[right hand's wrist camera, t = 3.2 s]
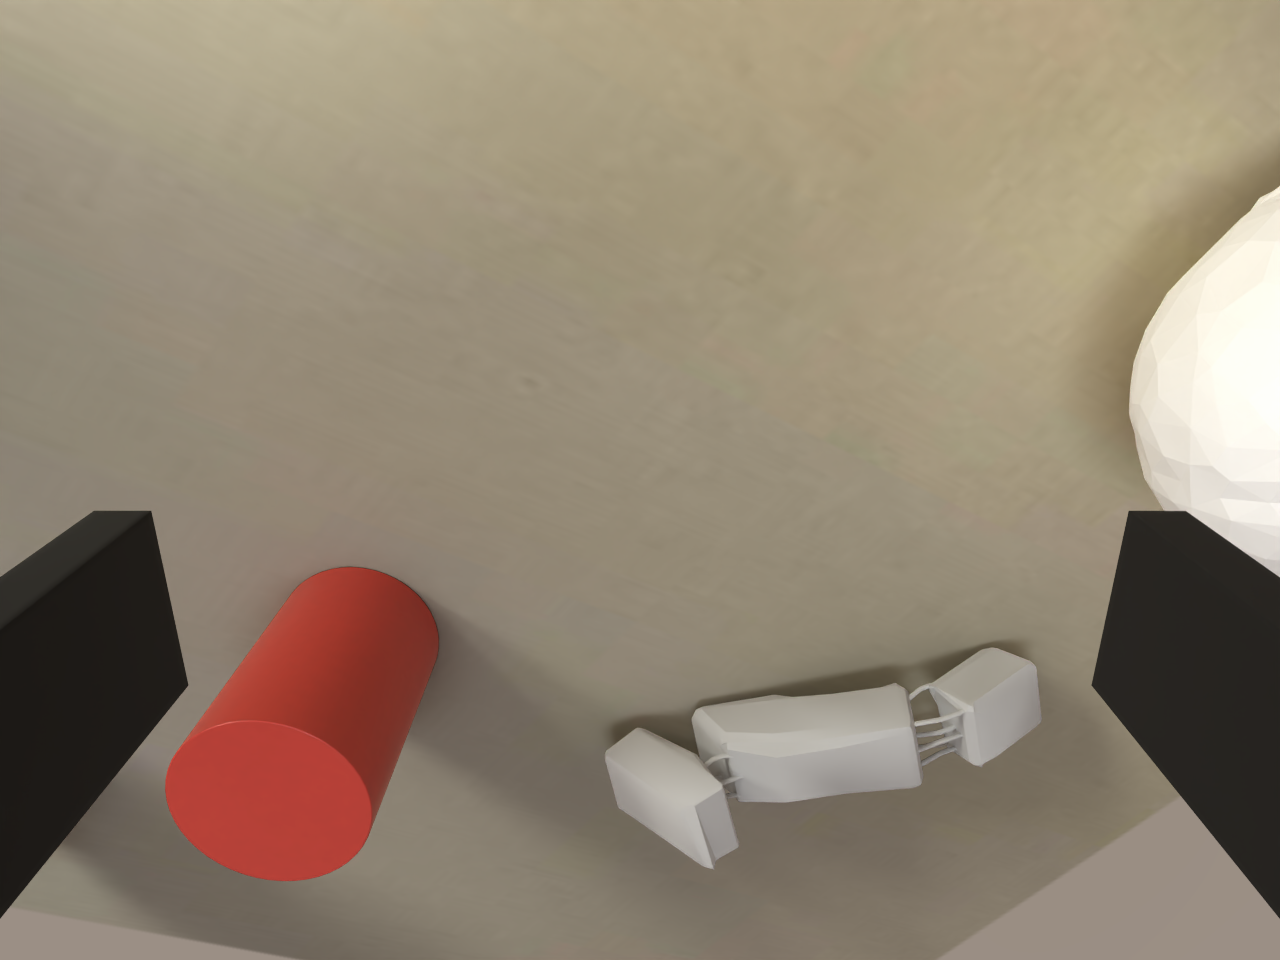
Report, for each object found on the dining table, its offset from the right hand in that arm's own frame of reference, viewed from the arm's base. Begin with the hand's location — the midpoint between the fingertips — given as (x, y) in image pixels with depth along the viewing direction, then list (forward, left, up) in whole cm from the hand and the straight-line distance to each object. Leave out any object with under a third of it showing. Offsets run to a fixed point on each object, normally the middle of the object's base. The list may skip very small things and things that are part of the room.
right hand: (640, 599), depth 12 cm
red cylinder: (-18, -13, -26) cm, 34 cm away
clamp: (+2, -23, -26) cm, 34 cm away
